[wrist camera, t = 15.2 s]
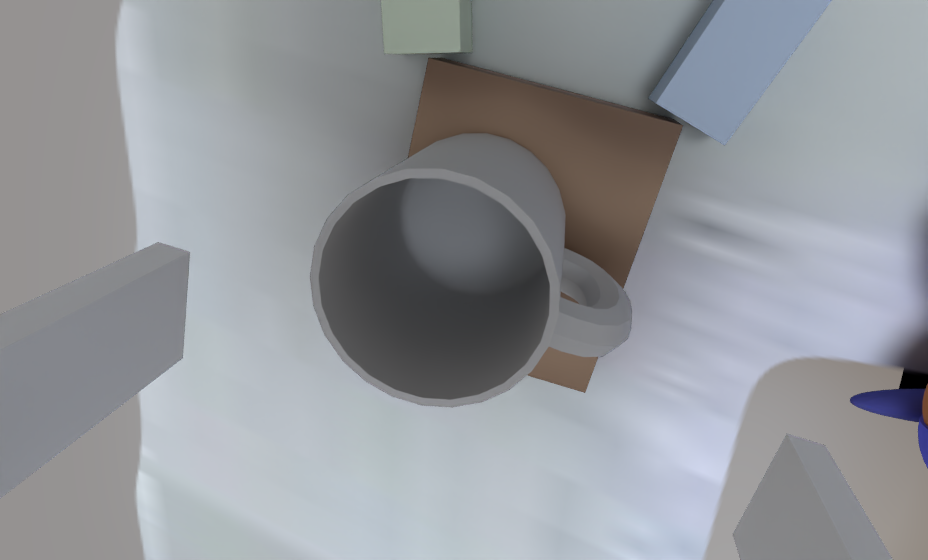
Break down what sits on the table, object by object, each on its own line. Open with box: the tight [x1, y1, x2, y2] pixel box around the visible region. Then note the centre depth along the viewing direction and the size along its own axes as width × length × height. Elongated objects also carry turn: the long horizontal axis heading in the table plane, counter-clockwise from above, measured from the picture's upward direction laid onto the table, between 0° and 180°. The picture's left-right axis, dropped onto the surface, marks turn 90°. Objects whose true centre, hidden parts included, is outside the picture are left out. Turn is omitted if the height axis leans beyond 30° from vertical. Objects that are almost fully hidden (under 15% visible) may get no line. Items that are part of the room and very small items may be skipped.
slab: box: [408, 58, 683, 393], centre depth 27 cm, size 12×10×2 cm
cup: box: [310, 133, 632, 407], centre depth 22 cm, size 7×10×9 cm
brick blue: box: [648, 0, 832, 145], centre depth 23 cm, size 6×3×3 cm, turn 150°
